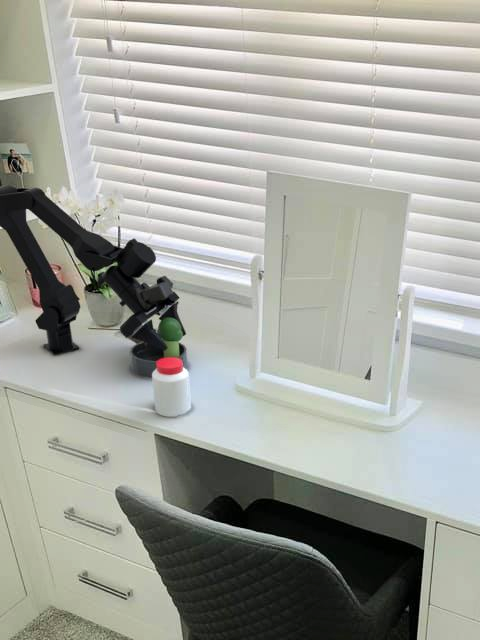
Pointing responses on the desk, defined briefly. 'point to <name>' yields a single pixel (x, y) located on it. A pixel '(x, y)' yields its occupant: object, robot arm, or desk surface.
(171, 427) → the desk surface
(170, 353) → the broccoli
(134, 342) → the pan handle
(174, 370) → the pill bottle
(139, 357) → the pan
